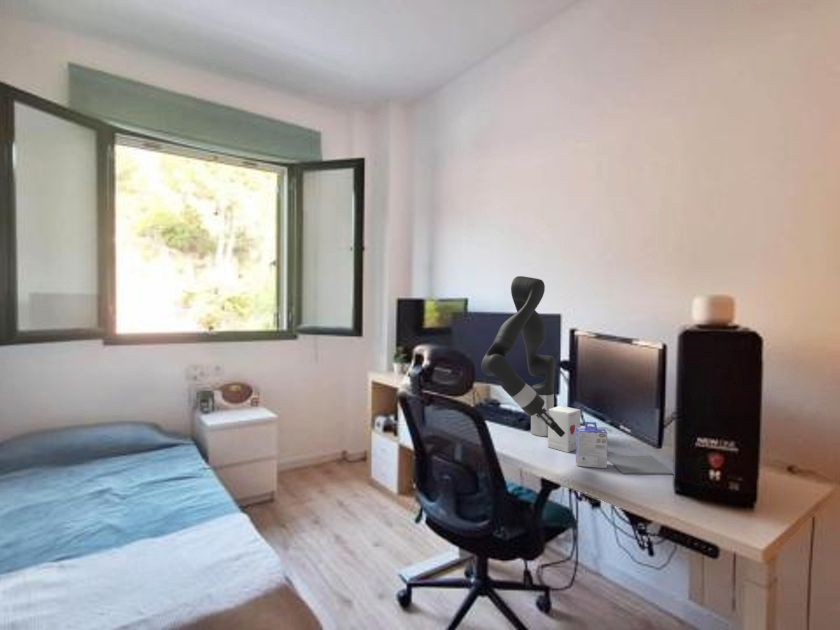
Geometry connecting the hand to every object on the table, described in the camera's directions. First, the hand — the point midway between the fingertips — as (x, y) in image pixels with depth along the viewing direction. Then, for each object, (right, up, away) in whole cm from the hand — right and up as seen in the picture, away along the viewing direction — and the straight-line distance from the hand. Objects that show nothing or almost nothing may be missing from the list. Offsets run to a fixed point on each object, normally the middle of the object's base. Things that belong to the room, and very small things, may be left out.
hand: (562, 434), depth 157 cm
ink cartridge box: (+10, -11, 0) cm, 15 cm away
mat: (+26, -11, 0) cm, 28 cm away
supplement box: (+6, -10, +18) cm, 22 cm away
